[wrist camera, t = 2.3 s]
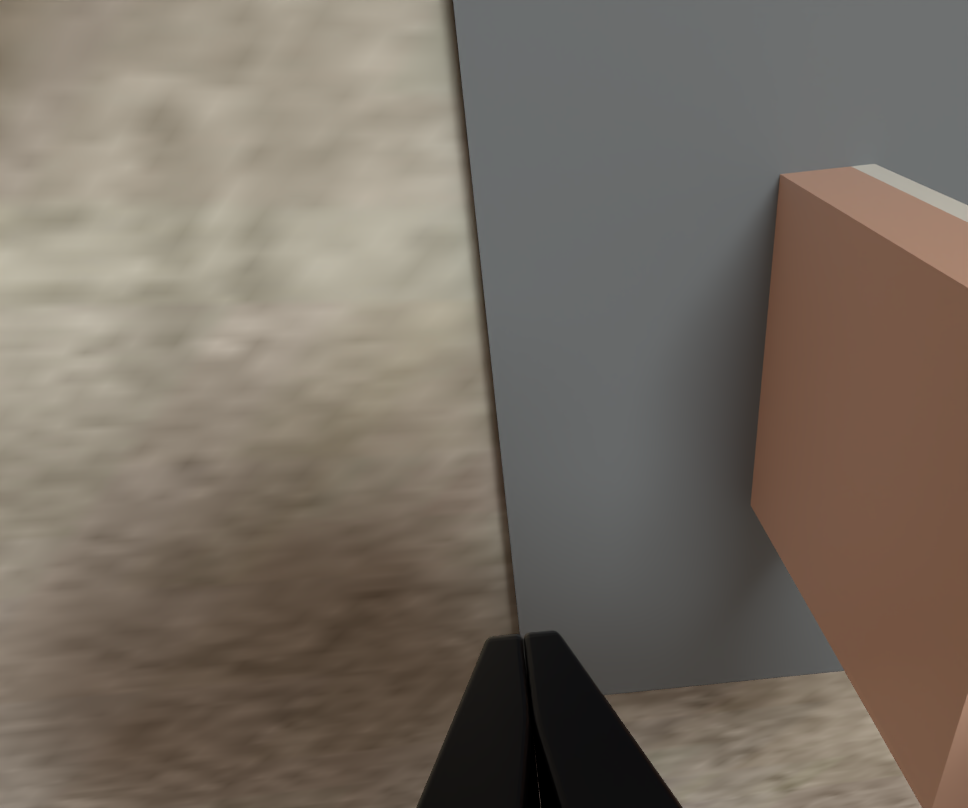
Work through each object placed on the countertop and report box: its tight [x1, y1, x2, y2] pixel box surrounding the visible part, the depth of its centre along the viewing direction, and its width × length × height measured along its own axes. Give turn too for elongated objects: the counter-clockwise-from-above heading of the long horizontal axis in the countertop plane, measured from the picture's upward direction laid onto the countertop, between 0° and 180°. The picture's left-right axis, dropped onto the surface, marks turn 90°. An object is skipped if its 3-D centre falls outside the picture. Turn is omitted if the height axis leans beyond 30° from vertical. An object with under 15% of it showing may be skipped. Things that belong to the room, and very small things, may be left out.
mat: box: [453, 0, 968, 695], centre depth 15 cm, size 18×18×1 cm
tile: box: [751, 164, 968, 808], centre depth 12 cm, size 7×2×7 cm, turn 6°
